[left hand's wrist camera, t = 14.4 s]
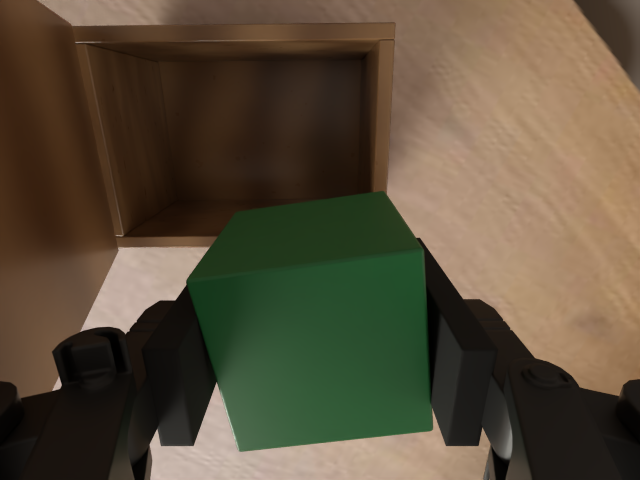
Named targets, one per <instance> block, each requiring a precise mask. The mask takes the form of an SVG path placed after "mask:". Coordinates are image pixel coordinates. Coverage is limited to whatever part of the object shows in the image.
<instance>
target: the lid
mask: <svg viewBox="0 0 640 480" xmlns="http://www.w3.org/2000/svg"><path fill="white" fill-rule="evenodd" d="M117 253H118V246H117V241H116V236H115V232H114V227H113V222H112V217H111V212H110V207H109V203H108V198H107V193H106V188H105V183H104V178H103V174H102V169H101V164H100V159H99V154H98V150H97V145H96V140H95V135H94V130H93V125H92V121H91V116H90V111H89V106H88V101H87V97H86V92H85V87H84V82H83V77H82V72H81V68H80V63H79V58H78V53H77V48H76V44H75V39H74V34H73V29H72V25H71V24H70V23H69V22H67V21H66V20H64V19H63V18H62V17H60V16H59V15H57V14H56V13H54V12H53V11H51V10H50V9H49V8H47V7H46V6H44V5H43V4H41V3H40V2H39V1H37V0H0V381H4V382H11V383H12V384H14V385H15V386H16V387H17V389H18V392H19V395H20V397H21V398H23V397H28V396H32V395H37V394H41V393H46V392H51V391H52V390H53V388H54V386H55V383H56V381H57V379H58V377H59V374H58V370H57V367H56V364H55V361H54V358H53V354H52V351H53V350H54V349H55V347H56V346H57V345H58V344H59V343H61V342H62V341H64V340H65V339H67V338H68V337H70V336H72V335H75V334H77V333H79V332H80V331H81V329H82V327H83V325H84V322H85V320H86V318H87V316H88V314H89V312H90V310H91V308H92V306H93V303H94V301H95V299H96V297H97V295H98V293H99V291H100V289H101V287H102V285H103V282H104V280H105V278H106V276H107V274H108V272H109V270H110V268H111V266H112V263H113V261H114V259H115V257H116V255H117Z"/></svg>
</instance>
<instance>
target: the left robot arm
mask: <svg viewBox="0 0 640 480" xmlns="http://www.w3.org/2000/svg"><path fill="white" fill-rule="evenodd" d="M416 239H417V240H418V242H419V243H420V245H421V246H422V248H423V249H424V259H425V278H426V298H427V317H428V337H429V356H430V376H431V405H432V408H433V411H434V414H435V417H436V419H437V422H438V425H439V428H440V430H441V433H442V436H443V439H444V442H445V444H446V446H479V441H480V436H481V431H482V427H483V429H484V431H485V433H486V435H487V437H488V439H489V441H490V443H491V445H490V450H489V454H488V459H487V463H486V468H485V473H484V478H483V480H489V479H490V480H640V379H638V380H629V381H628V382H627V383H625V384H624V385H623V387H622V390H621V393H620V396H616V395H611V394H606V393H602V392H597V391H592V390H588V389H584V388H580V387H579V385H578V384H577V382H576V381H575V380H574V378H573V377H572V376H571V375H570V374H568V373H567V372H566V371H564V370H563V369H562V368H560V367H558V366H556V365H554V364H552V363H550V362H547V361H543V360H540V359H536V358H534V356H533V355H532V354H531V353H530V352H529V350H528V349H527V348H526V347H525V345H524V344H523V343H522V342H521V341H520V339H519V338H518V337H517V336H516V334H515V333H514V332H513V331H512V330H510V327H509V326H508V325H507V323H506V322H505V321H503V319H502V317H501V316H500V315H499V314H498V313H497V311H496V310H495V309H494V308H493V307H491V306H490V305H488V304H486V303H485V302H483V301H482V300H480V299H463V298H462V297H461V296H460V294H459V293H458V291H457V290H456V288H455V287H454V286H453V284H452V283H451V281H450V280H449V279H448V277H447V276H446V274H445V273H444V271H443V270H442V269H441V267H440V266H439V264H438V263H437V261H436V260H435V259H434V257H433V256H432V254H431V253H430V252H429V250H428V249H427V247H426V246H425V244H424V243H423V242H422V240H421V239H420V238H416ZM52 354H53V358H54V361H55V364H56V367H57V370H58V374H59V377H60V380H61V383H62V386H61V388H60V389H58V390H55V391H51V392H46V393H41V394H37V395H32V396H28V397H23V398H21V397H20V395H19V392H18V389H17V387H16V386H15V385H14V384H12V383H11V382H4V381H0V480H150V476H151V467H152V455H151V450H150V445H149V444H150V442H151V440H152V438H153V436H154V434H155V432H156V430H157V429H158V434H159V438H160V443H161V446H194V443H195V440H196V438H197V435H198V432H199V429H200V426H201V424H202V421H203V418H204V415H205V413H206V410H207V407H208V404H209V401H210V399H211V396H212V393H213V390H214V388H215V385H216V382H217V381H216V377H215V374H214V371H213V368H212V365H211V361H210V358H209V355H208V352H207V348H206V345H205V342H204V339H203V335H202V332H201V329H200V326H199V322H198V319H197V315H196V313H195V310H194V306H193V303H192V300H191V297H190V293H189V290H188V287H187V285H186V286H185V288H184V289H183V291H182V292H181V293H180V295H179V296H178V298H177V299H176V301H159V302H157V303H155V304H154V305H152V306H151V307H149V308H148V309H146V310H145V311H144V312H143V314H142V315H141V316H140V317H139V318H138V320H137V323H134V325H133V326H132V327H131V328H130V331H129V332H127V333H126V334H125V333H124V332H123V331H121V330H120V329H118V328H113V327H98V328H93V329H89V330H85V331H82V332H79V333H77V334H75V335H72V336H70V337H68V338H67V339H65V340H64V341H62V342H61V343H59V344H58V345H57V346H56V347H55V349H54V350H53V351H52Z"/></svg>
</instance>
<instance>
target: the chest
mask: <svg viewBox="0 0 640 480" xmlns="http://www.w3.org/2000/svg"><path fill="white" fill-rule="evenodd" d="M72 29H73V34H74V39H75V44H76V48H77V53H78V58H79V63H80V68H81V72H82V77H83V82H84V87H85V92H86V97H87V101H88V106H89V111H90V116H91V121H92V125H93V130H94V135H95V140H96V145H97V150H98V154H99V159H100V164H101V169H102V174H103V178H104V183H105V188H106V193H107V198H108V203H109V207H110V212H111V217H112V222H113V227H114V232H115V236H116V241H117V246H118V248H193V247H211V245H212V244H213V243H214V241H215V240H216V238H217V237H218V236H219V234H220V233H221V231H222V230H223V229H224V227H225V226H226V225H227V223H228V222H229V220H230V219H231V218H232V216H233V215H234V213H235V212H238V211H245V210H252V209H259V208H266V207H273V206H280V205H287V204H294V203H301V202H308V201H315V200H322V199H329V198H336V197H343V196H350V195H357V194H364V193H371V192H378V191H385V193H386V194H387V178H388V159H389V140H390V120H391V101H392V82H393V62H394V43H395V41H394V38H395V23H394V22H391V23H302V24H214V25H126V26H72Z"/></svg>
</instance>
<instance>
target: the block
mask: <svg viewBox="0 0 640 480" xmlns="http://www.w3.org/2000/svg"><path fill="white" fill-rule="evenodd" d="M186 284H187V287H188V290H189V293H190V297H191V300H192V303H193V306H194V310H195V313H196V315H197V319H198V322H199V326H200V329H201V332H202V335H203V339H204V342H205V345H206V348H207V352H208V355H209V358H210V361H211V365H212V368H213V371H214V374H215V377H216V381H217V384H218V387H219V390H220V394H221V397H222V400H223V403H224V407H225V410H226V413H227V416H228V420H229V423H230V426H231V429H232V433H233V436H234V439H235V442H236V445H237V449H238V451H240V452H243V451H252V450H261V449H271V448H280V447H289V446H298V445H307V444H316V443H326V442H335V441H344V440H353V439H362V438H372V437H381V436H390V435H399V434H408V433H417V432H427V431H432V430H433V415H432V405H431V376H430V356H429V337H428V317H427V298H426V278H425V259H424V249H423V248H422V246H421V245H420V243H419V242H418V240H417V239H416V237H415V236H414V234H413V233H412V231H411V230H410V228H409V227H408V225H407V224H406V222H405V221H404V219H403V218H402V217H401V215H400V214H399V212H398V211H397V209H396V208H395V206H394V205H393V203H392V202H391V200H390V199H389V197H388V196H387V194H386V193H385V191H378V192H371V193H364V194H357V195H350V196H343V197H336V198H329V199H322V200H315V201H308V202H301V203H294V204H287V205H280V206H273V207H266V208H259V209H252V210H245V211H238V212H235V213H234V215H233V216H232V218H231V219H230V220H229V222H228V223H227V225H226V226H225V227H224V229H223V230H222V231H221V233H220V234H219V236H218V237H217V238H216V240H215V241H214V243H213V244H212V245H211V247H210V248H209V249H208V251H207V252H206V254H205V255H204V256H203V258H202V259H201V261H200V262H199V263H198V265H197V266H196V267H195V269H194V270H193V272H192V273H191V274H190V276H189V277H188V279H187V281H186Z"/></svg>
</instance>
